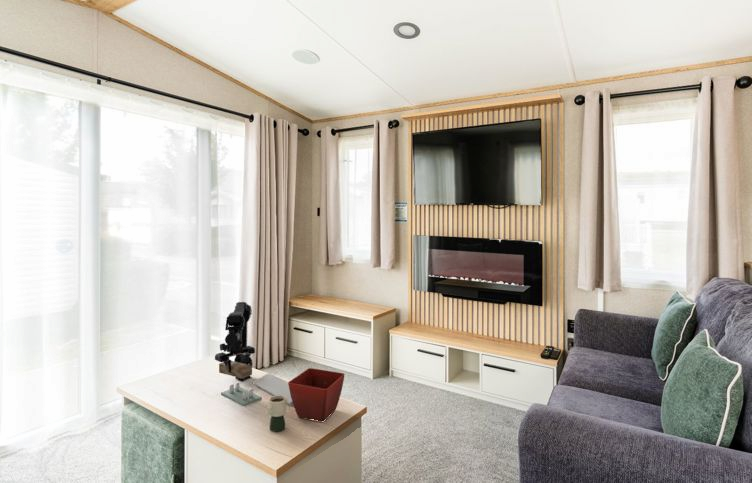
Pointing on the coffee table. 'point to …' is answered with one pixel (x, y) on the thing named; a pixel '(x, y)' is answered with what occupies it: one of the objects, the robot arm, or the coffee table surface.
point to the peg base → (241, 395)
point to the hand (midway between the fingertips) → (235, 370)
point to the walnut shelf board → (236, 369)
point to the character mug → (277, 412)
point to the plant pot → (316, 393)
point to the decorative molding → (274, 386)
